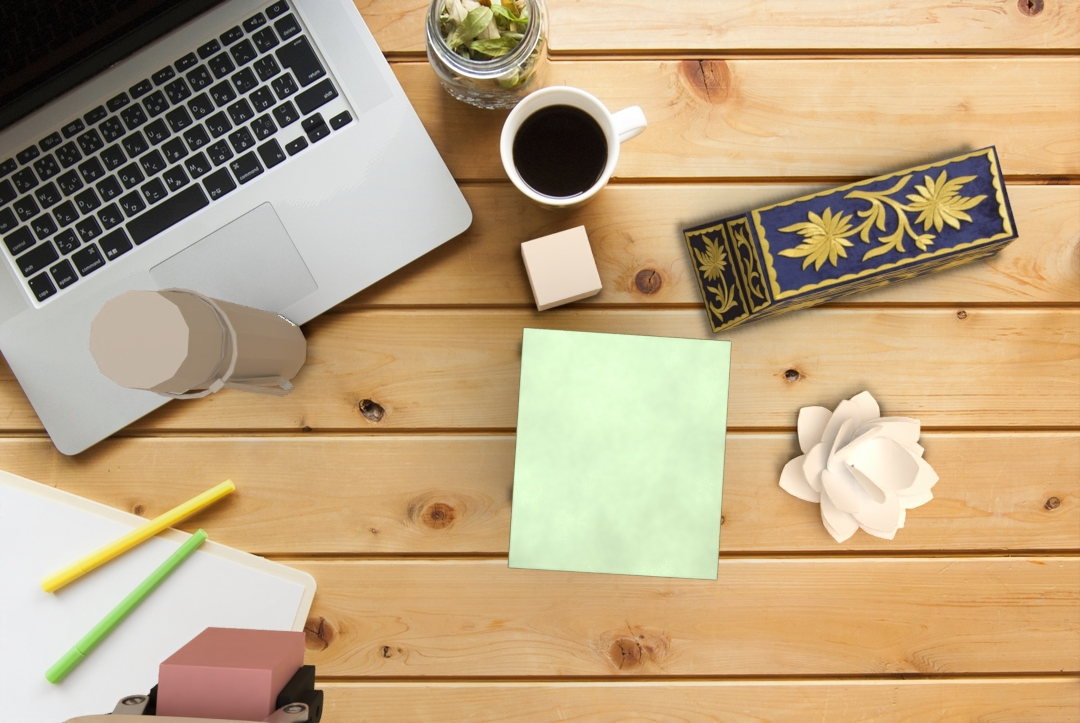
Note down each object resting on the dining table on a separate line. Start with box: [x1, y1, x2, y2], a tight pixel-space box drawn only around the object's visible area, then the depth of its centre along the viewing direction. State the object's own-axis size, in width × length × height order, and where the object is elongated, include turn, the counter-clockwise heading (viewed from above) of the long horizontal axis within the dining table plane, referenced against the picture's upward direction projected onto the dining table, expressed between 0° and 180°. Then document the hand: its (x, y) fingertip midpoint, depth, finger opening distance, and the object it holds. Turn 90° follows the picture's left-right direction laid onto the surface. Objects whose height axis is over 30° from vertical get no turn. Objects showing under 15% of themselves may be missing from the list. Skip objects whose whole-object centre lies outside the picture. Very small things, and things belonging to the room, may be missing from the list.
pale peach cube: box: [520, 224, 603, 312], centre depth 70 cm, size 6×6×6 cm
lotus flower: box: [778, 390, 940, 544], centre depth 69 cm, size 14×15×9 cm
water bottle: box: [88, 286, 308, 400], centre depth 60 cm, size 9×8×25 cm
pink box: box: [156, 626, 307, 722], centre depth 35 cm, size 6×5×5 cm
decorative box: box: [682, 144, 1020, 334], centre depth 69 cm, size 11×30×9 cm, turn 105°
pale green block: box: [507, 326, 733, 581], centre depth 61 cm, size 16×14×24 cm
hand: (249, 692), depth 37 cm, fingers closed on pink box, 5 cm apart
